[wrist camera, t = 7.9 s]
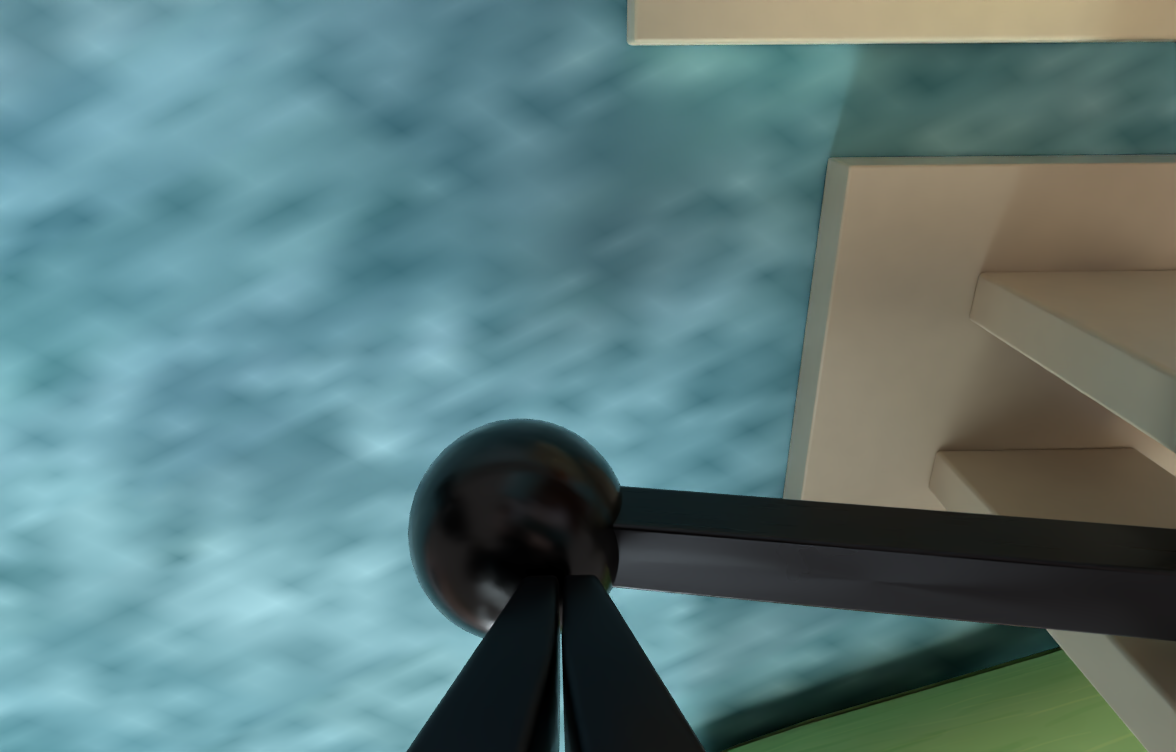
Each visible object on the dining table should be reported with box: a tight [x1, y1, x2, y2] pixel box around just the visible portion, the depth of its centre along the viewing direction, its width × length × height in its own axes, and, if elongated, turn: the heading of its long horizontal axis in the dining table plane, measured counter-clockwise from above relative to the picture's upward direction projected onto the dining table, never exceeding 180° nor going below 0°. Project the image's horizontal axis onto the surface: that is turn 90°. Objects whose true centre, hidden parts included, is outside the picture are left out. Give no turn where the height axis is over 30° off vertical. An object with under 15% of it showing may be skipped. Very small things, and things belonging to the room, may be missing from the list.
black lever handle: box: [408, 419, 1176, 641], centre depth 9 cm, size 14×3×3 cm, turn 91°
